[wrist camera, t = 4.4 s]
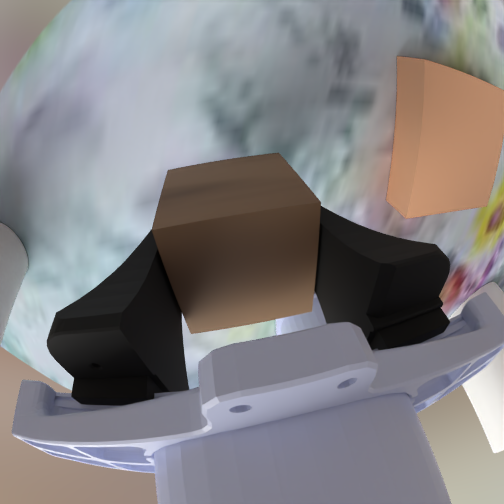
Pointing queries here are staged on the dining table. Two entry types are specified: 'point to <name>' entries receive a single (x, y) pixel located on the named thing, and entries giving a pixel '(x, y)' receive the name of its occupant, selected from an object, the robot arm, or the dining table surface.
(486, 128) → the terracotta plinth
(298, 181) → the walnut block
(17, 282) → the coffee cup
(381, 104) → the dining table surface
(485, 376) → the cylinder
